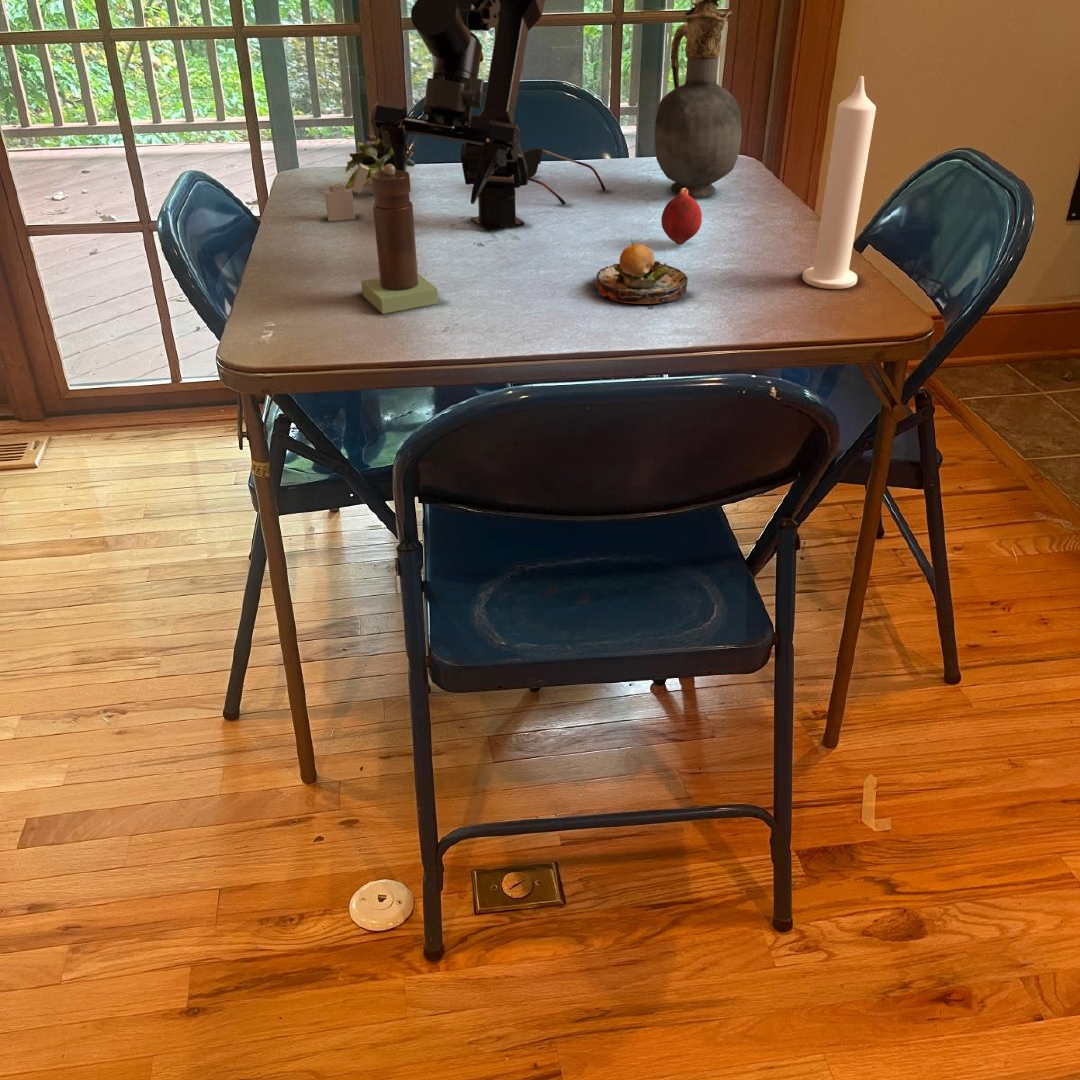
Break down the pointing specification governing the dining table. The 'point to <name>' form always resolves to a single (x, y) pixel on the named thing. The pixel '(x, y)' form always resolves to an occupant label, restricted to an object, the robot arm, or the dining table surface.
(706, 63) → the pitcher
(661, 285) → the wood slice pumpkin decoration
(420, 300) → the riser block
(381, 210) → the pepper mill
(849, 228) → the candle
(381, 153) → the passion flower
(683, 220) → the onion
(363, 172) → the lighter
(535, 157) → the sunglasses
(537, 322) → the dining table surface
